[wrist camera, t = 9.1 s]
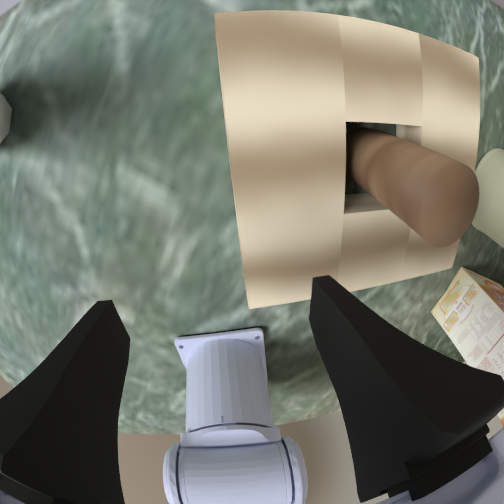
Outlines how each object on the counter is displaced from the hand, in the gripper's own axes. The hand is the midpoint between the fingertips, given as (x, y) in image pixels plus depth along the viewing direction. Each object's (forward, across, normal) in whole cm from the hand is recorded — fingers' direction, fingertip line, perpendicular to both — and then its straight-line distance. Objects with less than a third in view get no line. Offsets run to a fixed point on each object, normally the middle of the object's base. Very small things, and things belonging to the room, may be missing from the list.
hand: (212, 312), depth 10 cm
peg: (+10, -10, -3) cm, 15 cm away
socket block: (+10, -10, -3) cm, 15 cm away
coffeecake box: (+10, -31, +15) cm, 36 cm away
